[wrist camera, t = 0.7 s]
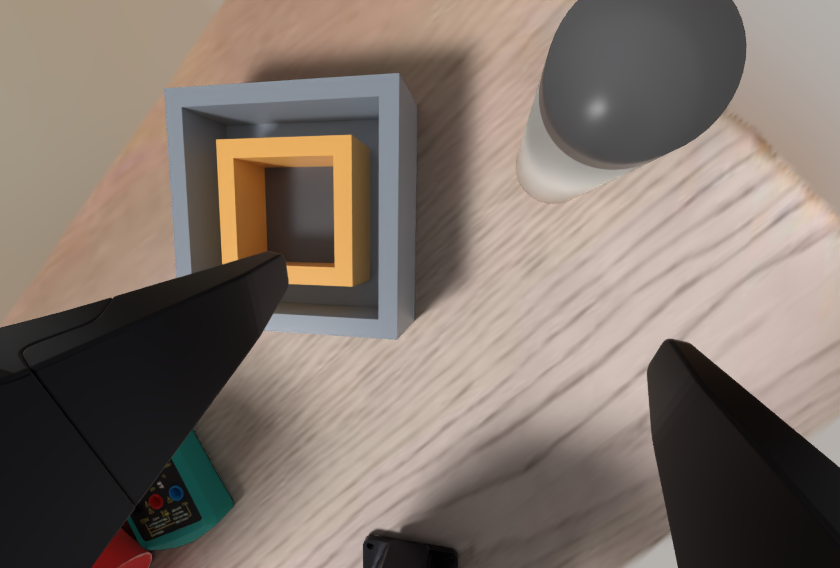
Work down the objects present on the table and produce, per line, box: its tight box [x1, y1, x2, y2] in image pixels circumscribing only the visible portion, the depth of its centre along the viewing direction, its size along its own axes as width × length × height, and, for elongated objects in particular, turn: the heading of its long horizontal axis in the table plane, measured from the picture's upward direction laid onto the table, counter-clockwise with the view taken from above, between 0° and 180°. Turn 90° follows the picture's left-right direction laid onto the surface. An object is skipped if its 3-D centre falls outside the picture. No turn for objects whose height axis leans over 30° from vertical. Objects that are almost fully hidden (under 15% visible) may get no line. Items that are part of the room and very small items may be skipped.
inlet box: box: [164, 73, 418, 340], centre depth 22 cm, size 13×13×4 cm
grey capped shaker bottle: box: [516, 0, 746, 204], centre depth 15 cm, size 4×4×12 cm
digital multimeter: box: [127, 429, 234, 550], centre depth 28 cm, size 7×15×3 cm, turn 27°
